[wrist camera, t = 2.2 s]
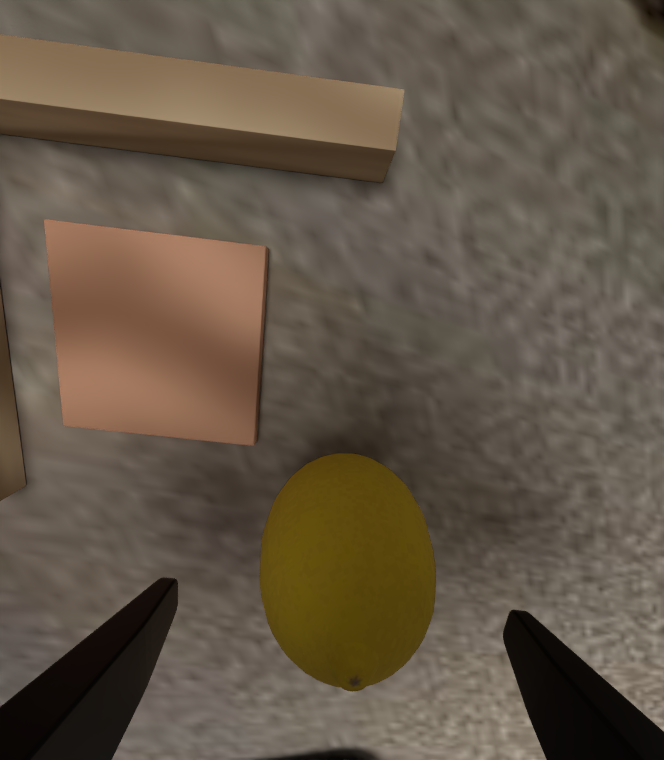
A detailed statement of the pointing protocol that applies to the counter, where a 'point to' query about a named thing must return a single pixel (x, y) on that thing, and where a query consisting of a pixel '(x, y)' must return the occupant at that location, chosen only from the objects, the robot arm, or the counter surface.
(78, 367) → the wooden corner frame
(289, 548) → the lemon
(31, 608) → the counter surface
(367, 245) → the counter surface
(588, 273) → the counter surface
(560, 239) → the counter surface
